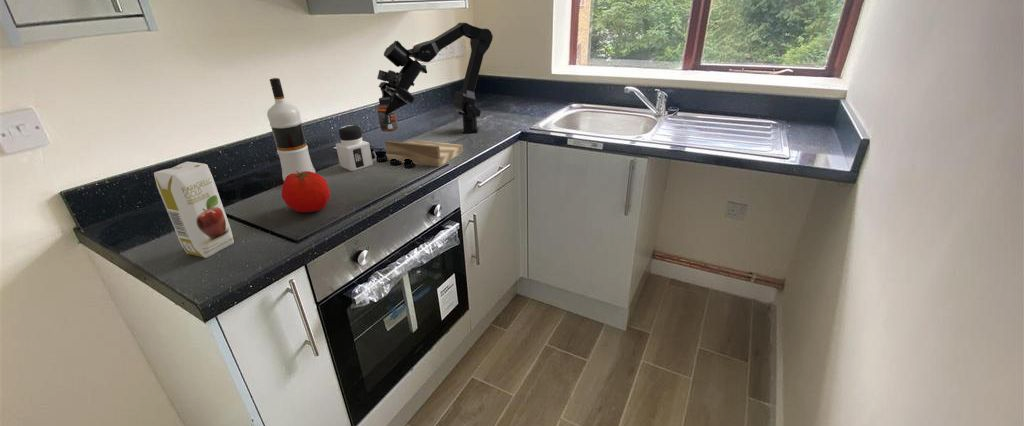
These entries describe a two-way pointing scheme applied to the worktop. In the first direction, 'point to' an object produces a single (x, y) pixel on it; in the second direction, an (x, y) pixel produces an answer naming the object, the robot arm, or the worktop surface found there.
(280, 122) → the vodka
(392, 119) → the supplement bottle
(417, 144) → the wooden block
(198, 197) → the juice carton
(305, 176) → the tomato
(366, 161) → the container
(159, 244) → the worktop surface
